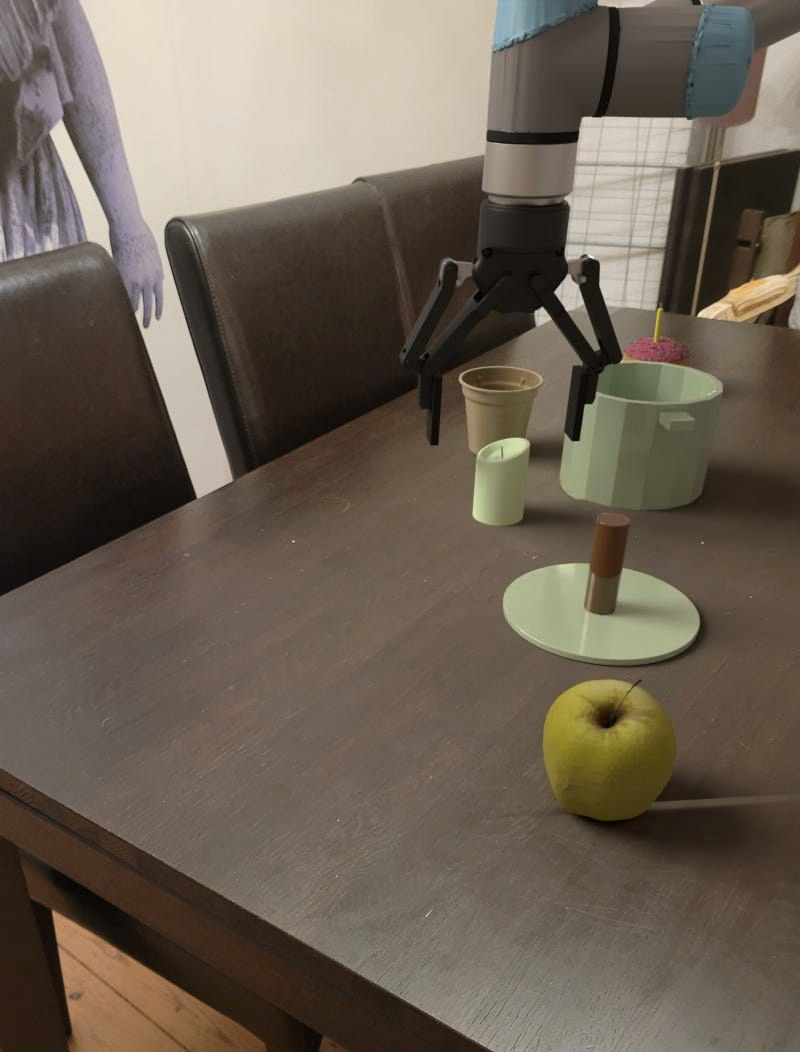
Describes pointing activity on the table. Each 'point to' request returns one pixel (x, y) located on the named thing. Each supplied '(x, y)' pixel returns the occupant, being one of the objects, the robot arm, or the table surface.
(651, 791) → the apple
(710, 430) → the pot
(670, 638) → the pot lid
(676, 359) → the cupcake
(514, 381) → the flower pot
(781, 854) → the table surface
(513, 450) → the candle
